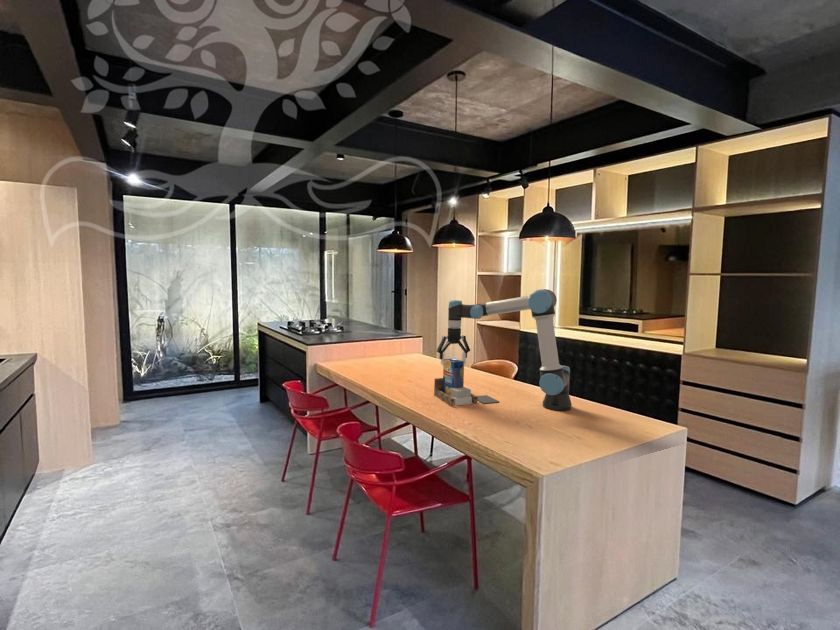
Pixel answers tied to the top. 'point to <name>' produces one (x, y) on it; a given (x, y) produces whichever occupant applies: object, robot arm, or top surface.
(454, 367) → the beverage box
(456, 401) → the offcut low
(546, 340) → the robot arm
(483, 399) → the mat
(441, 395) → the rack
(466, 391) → the offcut top
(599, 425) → the top surface
